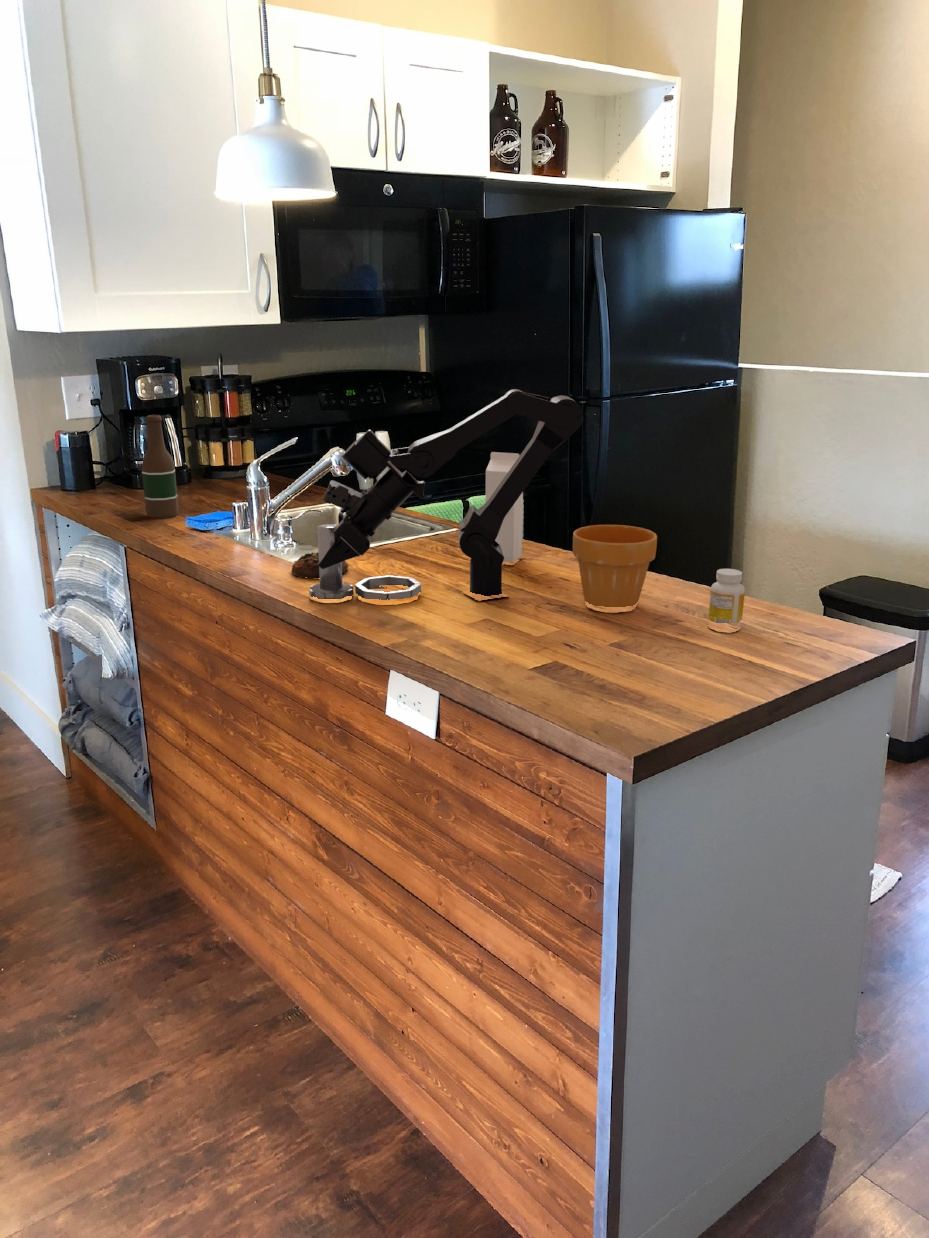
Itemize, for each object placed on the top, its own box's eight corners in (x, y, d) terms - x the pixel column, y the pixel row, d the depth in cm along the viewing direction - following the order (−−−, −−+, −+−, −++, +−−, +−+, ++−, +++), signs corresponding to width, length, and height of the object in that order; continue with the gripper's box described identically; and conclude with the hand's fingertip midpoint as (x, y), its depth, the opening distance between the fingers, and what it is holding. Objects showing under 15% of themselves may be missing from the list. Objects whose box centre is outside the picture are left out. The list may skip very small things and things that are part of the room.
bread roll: (310, 582, 189) (308, 556, 188) (281, 578, 198) (278, 553, 197) (359, 575, 196) (357, 549, 195) (329, 571, 205) (327, 546, 204)
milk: (513, 566, 201) (515, 456, 194) (484, 563, 203) (485, 454, 196) (521, 559, 206) (524, 451, 199) (493, 556, 208) (495, 449, 201)
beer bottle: (139, 517, 243) (129, 416, 236) (157, 511, 250) (148, 413, 243) (167, 519, 241) (158, 418, 234) (185, 513, 248) (177, 414, 241)
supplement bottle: (718, 635, 161) (723, 577, 158) (701, 625, 166) (705, 568, 163) (748, 632, 163) (753, 574, 160) (730, 622, 167) (734, 566, 164)
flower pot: (656, 598, 180) (661, 527, 176) (648, 622, 167) (653, 546, 163) (577, 592, 184) (580, 522, 180) (564, 615, 171) (566, 540, 167)
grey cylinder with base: (359, 601, 178) (357, 529, 174) (317, 606, 175) (313, 533, 171) (345, 589, 185) (342, 520, 181) (304, 595, 182) (300, 524, 178)
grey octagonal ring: (429, 600, 179) (429, 588, 178) (369, 608, 174) (369, 596, 173) (405, 584, 188) (405, 573, 187) (348, 592, 184) (348, 579, 183)
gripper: (352, 457, 182) (293, 517, 185) (347, 475, 164) (282, 541, 167) (396, 499, 185) (338, 558, 188) (396, 522, 167) (331, 586, 170)
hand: (322, 560), depth 178 cm, fingers open, 9 cm apart
